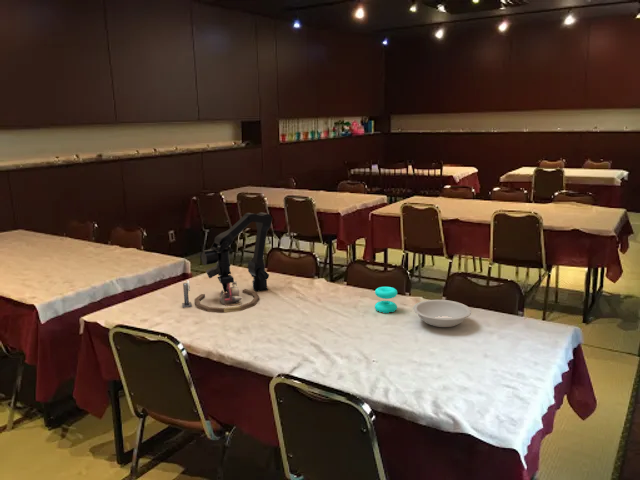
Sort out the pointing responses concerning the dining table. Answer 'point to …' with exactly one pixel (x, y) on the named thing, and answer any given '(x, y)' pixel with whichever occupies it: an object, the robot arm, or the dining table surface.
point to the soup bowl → (442, 312)
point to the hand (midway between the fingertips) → (225, 291)
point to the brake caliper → (230, 295)
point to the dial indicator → (186, 295)
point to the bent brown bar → (228, 309)
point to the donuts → (386, 294)
